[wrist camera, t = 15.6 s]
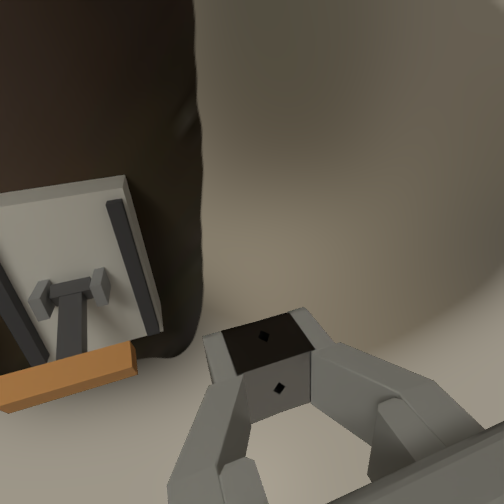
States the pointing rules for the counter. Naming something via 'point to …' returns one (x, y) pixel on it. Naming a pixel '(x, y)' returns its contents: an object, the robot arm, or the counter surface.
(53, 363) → the lever
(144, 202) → the counter surface
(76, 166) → the counter surface
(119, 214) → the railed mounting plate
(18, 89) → the counter surface
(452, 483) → the robot arm
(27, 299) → the box
